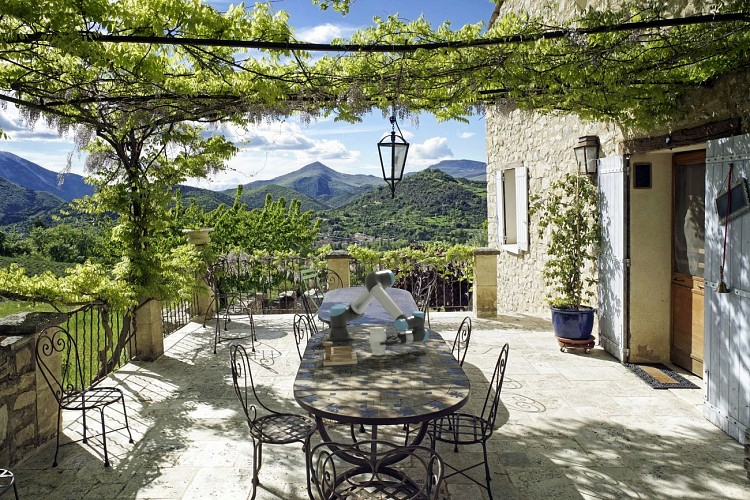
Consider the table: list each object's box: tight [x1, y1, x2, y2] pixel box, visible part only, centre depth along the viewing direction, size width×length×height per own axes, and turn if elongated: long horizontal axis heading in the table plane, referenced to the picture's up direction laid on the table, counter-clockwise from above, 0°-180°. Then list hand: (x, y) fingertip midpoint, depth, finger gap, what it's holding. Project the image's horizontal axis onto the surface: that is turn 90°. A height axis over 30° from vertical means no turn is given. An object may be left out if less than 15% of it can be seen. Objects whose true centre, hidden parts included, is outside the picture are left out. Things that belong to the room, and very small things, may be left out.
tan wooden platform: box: [322, 341, 358, 367], centre depth 324 cm, size 22×20×12 cm
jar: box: [369, 327, 387, 356], centre depth 330 cm, size 11×10×15 cm
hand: (371, 341), depth 328 cm, fingers closed on jar, 10 cm apart
